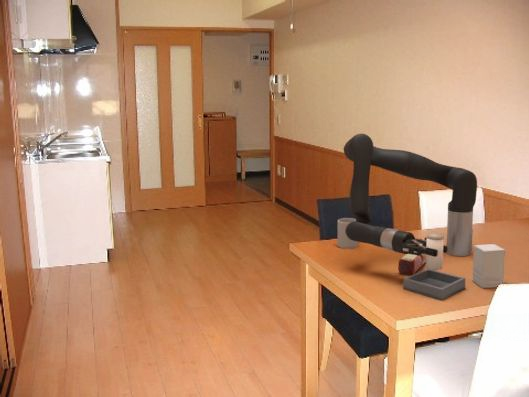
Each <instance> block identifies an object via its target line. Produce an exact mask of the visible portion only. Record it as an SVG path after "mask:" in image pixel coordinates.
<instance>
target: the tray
mask: <svg viewBox="0 0 529 397" xmlns="http://www.w3.org/2000/svg"><path fill="white" fill-rule="evenodd" d="M402 281H403V285H402V288H403V290H405V291H410V292H411V293H417V294H420V295H423V296H427V297H429V298H432V299H436V300H438V301H439V300H440V301H443V300H445V299H447V298H449V297H451V296H453V295H455V294H457V293H459V292H462V291H463V290H465V289H466V277H462V276H458V275H454V274H450V273H446V272H443V271H440V270H430V269H427V268H425V269H423V270H421V271H418V272H415V274H413V275H408V276H407V277H404V278H403V280H402Z"/></svg>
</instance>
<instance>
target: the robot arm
mask: <svg viewBox="0 0 529 397" xmlns="http://www.w3.org/2000/svg"><path fill="white" fill-rule="evenodd" d="M343 153H344V156H345V157H346V158H347V159H348V160H349V161H351V162H353V172H352V179H351V182H350V183H351V184H350V187H349V188H350V190H349V213H350V215H352V216H353V217H354V219H356V222H351V223H349V224H348V225H347V227H346V230H345V232H346V235H347V237H348V238H349V239H350V240H352V241H357V242H358V243H361V244H362V243H363V244H369V245H372V246H375V247H379V248H381V249H382V248H383V249H385V250H388V251H391V252H394V253H399V254H402V255H405V254H412V255H418V256H421V254H422V255H430V256H434V257H436V256H437V255H438V250H436V249H432V248H428V247H427V248H426V244H427V237H424V239H422V238H417V237H415V235H414V234H413V233H412V232H410V231H405V230H402V229H401V230H400V229H397V228H390V227H389V228H388V227H385V226H378V225H377V226H375V225H373V221H372V216H371V213H370V174H371V166H374V167H377V168H380V169H383V170H386V171H387V172H388V171H389V172H391V173H395V174H398V175H401V176H403V177H406V178H410V179H413V180H419V181H429V182H432V183H437V184H439V185H441V186H444V187H446V188H448V189H449V190H452V191H451V192H452V194H451V200H450V201H449V202H448V204H447V221H446V222H447V223H446V224H447V226H446V227H447V228H446V245H444V244H443V254H448V255H450V256H454V257H469V256H470V255H472V250H473V231H474V229H473V225H474V224H473V222H474V221H473V220H474V206H475V205H476V202H477V190H478V178H477V176H476V174H475V173H474V172H473V171H471V170H469V169H466V168H462V167H456V166H451V165H446V164H442V163H440V162H439V163H438V162H436V161H434V160H432V159H431V158H428V157H426V156H423V155H421V154H418V153H415V152H411V151H408V150H402V149H401V150H400V149H388V148H381V147H376V146H374V142H373V139H372V138H371V137H370V136H369V135H368V134H366V133H357V134H355V135H353V136H352V137H351V138H350V139H349V140H348V141H347V142H346V143H345V145H344V146H343Z"/></svg>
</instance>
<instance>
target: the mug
mask: <svg viewBox="0 0 529 397" xmlns="http://www.w3.org/2000/svg"><path fill="white" fill-rule="evenodd" d="M351 222H356V218H353V217H342V218H338V220H337V240H336V241H337V244H336V245H337V246H338V248H340V249H346V250H347V249H348V250H350V248H352V249H356V248H358V247H359V242H357V241H352V240H350V239H349V238H348V237H347V235H346V232H345V230H346V227H347V225H348V224H349V223H351ZM357 246H358V247H357ZM355 247H356V248H355Z"/></svg>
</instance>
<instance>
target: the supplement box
mask: <svg viewBox="0 0 529 397" xmlns="http://www.w3.org/2000/svg"><path fill="white" fill-rule="evenodd" d="M505 257H506V249H504V248H502V247H500V246H498V245H497V244H495V243H491V244H477V245H476V244H475V245H473V259H472V260H473V261H472V282H474V283H475V284H476V285H477V286H479V287H481V288H482V289H486V288H487V289H488V288H490V289H493V288H498V287H497V286H498V285H500V284H503V285H504V279H505V278H504V276H505V260H506V258H505Z"/></svg>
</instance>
